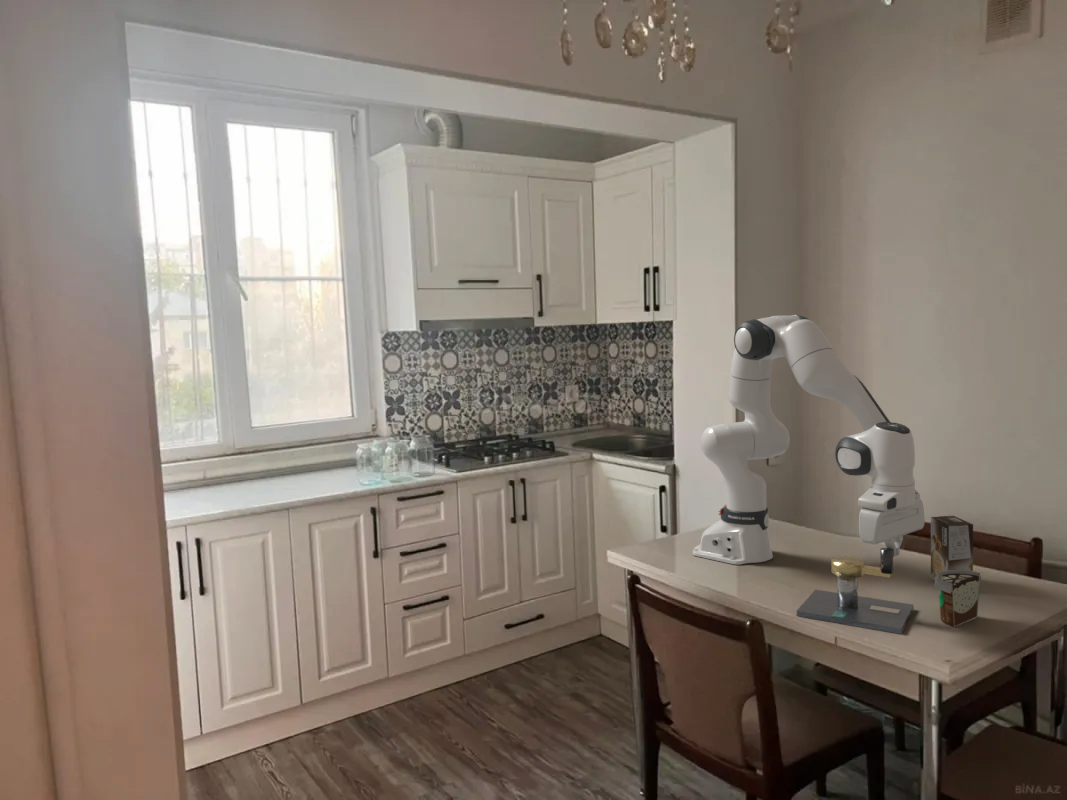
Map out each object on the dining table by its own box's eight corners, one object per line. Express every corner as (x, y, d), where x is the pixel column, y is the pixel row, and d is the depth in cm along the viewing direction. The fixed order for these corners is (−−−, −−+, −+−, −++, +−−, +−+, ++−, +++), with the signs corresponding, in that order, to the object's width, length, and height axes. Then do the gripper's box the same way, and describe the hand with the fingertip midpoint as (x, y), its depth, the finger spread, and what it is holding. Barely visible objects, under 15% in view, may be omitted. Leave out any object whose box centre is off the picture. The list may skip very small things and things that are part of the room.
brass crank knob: (827, 574, 180) (827, 545, 179) (836, 566, 185) (836, 538, 185) (888, 584, 172) (888, 554, 171) (896, 575, 177) (896, 546, 176)
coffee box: (974, 588, 191) (975, 524, 189) (948, 589, 191) (948, 525, 189) (953, 576, 200) (954, 515, 198) (928, 577, 200) (929, 516, 198)
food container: (953, 607, 179) (954, 565, 178) (981, 615, 174) (981, 572, 173) (922, 620, 173) (923, 577, 172) (950, 629, 167) (950, 584, 166)
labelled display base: (796, 615, 178) (796, 580, 178) (815, 594, 192) (815, 561, 191) (901, 634, 166) (901, 596, 165) (913, 609, 179) (913, 574, 178)
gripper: (905, 486, 183) (906, 543, 184) (853, 500, 171) (854, 561, 173) (932, 490, 178) (932, 549, 179) (879, 505, 166) (880, 568, 168)
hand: (893, 555), depth 176 cm, fingers closed
